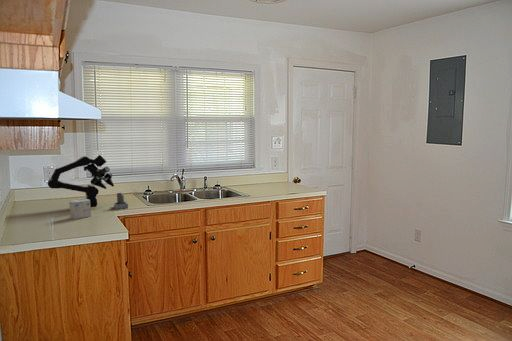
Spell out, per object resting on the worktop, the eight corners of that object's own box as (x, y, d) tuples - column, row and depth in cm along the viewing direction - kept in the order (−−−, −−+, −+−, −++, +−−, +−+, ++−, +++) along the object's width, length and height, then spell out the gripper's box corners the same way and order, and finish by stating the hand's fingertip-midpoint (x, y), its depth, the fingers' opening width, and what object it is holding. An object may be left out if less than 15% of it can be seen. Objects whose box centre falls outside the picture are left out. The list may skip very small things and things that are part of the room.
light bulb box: (86, 214, 259) (85, 198, 257) (91, 216, 254) (90, 199, 253) (69, 217, 251) (68, 200, 249) (75, 219, 246) (73, 202, 245)
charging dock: (115, 209, 272) (114, 204, 272) (113, 206, 280) (113, 202, 279) (128, 208, 276) (127, 203, 275) (126, 205, 283) (126, 201, 283)
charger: (120, 208, 275) (119, 193, 274) (116, 207, 278) (115, 192, 276) (125, 207, 278) (124, 192, 277) (121, 206, 281) (121, 191, 280)
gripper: (93, 164, 269) (109, 181, 268) (109, 161, 287) (124, 177, 286) (83, 176, 272) (99, 192, 271) (100, 172, 290) (114, 188, 289)
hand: (109, 187), depth 279 cm, fingers open, 9 cm apart
